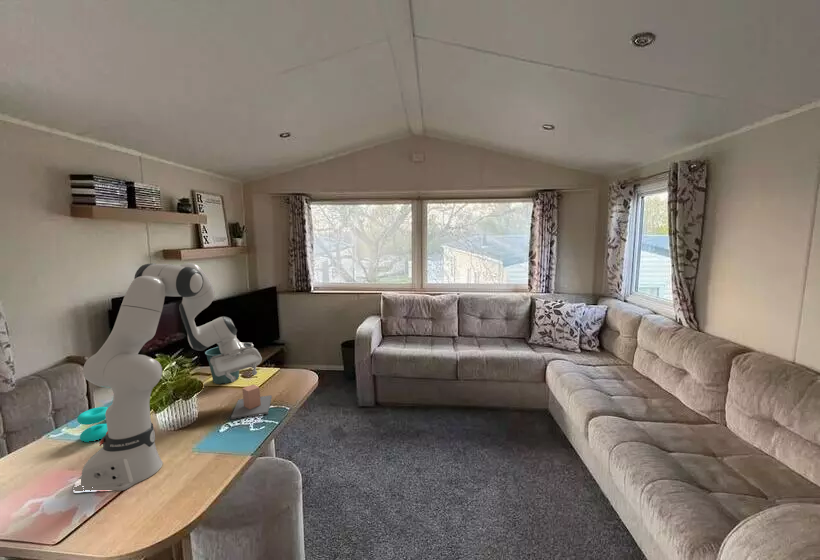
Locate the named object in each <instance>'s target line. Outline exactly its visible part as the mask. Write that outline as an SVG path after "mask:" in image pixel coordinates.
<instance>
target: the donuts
mask: <svg viewBox="0 0 820 560" xmlns="http://www.w3.org/2000/svg"><path fill="white" fill-rule="evenodd" d="M108 407H109V406H108ZM108 407H107V406H99V407H93V408H90V409H87V410H85V411H84V412H81V413H80V414H78V416H77V419H76V420H77V422H78V423H79V424H81V425H84V426H85V425H88V426H90V427H88V428H86V429H84V430H83V431H82V432H81V433H80V436H79V439H80V440H81V442H83V441H84V442H83V443H90V442H89V441H94V440H98V441H100V440H99V439H101V440H102V438H103V437H104V436H105V435H106V432H108V430H107V423H101V422H104V421H106V416H105V413H106V410H107V409H108ZM98 423H99V424H98ZM91 425H92V426H91ZM94 442H95V441H94Z"/></svg>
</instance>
